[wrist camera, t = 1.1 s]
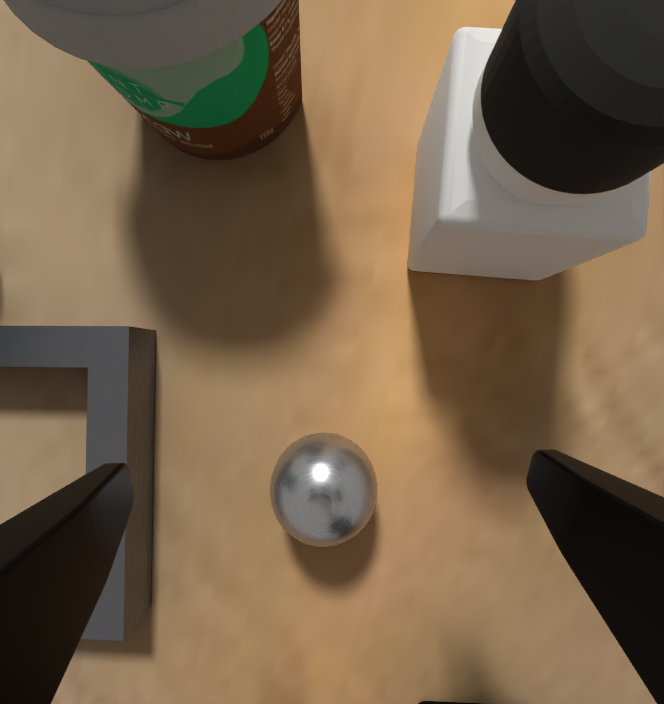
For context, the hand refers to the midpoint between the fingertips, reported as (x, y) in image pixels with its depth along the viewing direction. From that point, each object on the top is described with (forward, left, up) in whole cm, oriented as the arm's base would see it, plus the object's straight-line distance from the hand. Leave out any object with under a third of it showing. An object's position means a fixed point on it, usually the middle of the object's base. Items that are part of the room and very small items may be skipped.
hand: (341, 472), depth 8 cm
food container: (+15, +8, -12) cm, 21 cm away
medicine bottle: (+10, -7, -12) cm, 17 cm away
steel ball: (-4, +1, -9) cm, 10 cm away
